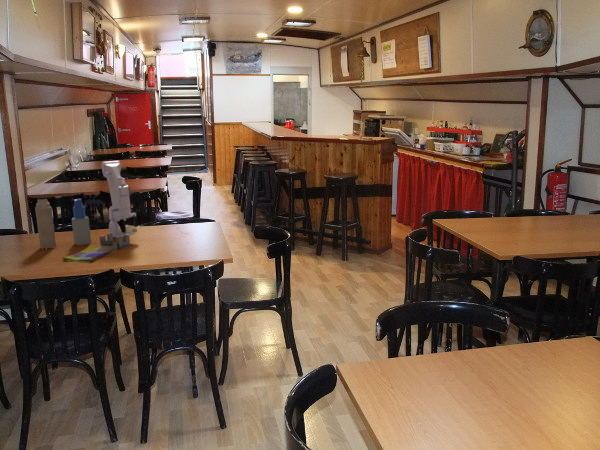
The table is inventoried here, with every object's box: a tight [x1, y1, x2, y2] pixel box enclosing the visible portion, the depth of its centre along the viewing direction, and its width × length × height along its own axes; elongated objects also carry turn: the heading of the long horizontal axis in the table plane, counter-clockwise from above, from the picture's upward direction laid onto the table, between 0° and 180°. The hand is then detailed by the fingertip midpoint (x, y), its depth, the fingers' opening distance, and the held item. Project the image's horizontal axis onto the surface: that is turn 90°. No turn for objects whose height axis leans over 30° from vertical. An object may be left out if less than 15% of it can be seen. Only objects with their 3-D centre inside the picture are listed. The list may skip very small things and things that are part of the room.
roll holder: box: [99, 232, 133, 251], centre depth 306 cm, size 15×10×6 cm, turn 64°
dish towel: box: [62, 244, 118, 264], centre depth 290 cm, size 18×24×3 cm
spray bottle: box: [71, 198, 92, 246], centre depth 313 cm, size 9×9×25 cm
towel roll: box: [117, 224, 138, 236], centre depth 314 cm, size 13×5×5 cm, turn 64°
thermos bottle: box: [34, 196, 57, 250], centre depth 305 cm, size 8×8×28 cm
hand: (127, 231), depth 314 cm, fingers closed on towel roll, 5 cm apart
